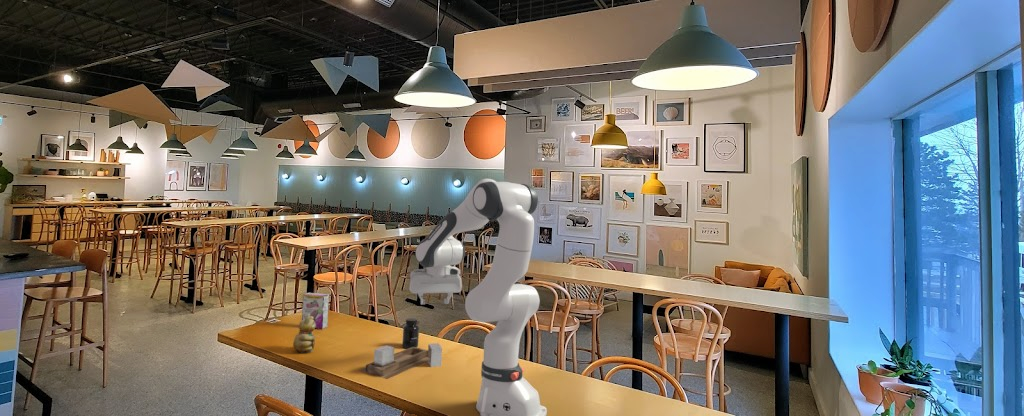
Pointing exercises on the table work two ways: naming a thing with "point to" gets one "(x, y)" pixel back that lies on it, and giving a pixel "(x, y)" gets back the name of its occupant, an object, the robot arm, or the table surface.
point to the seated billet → (383, 356)
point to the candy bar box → (316, 308)
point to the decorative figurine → (305, 335)
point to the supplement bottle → (410, 333)
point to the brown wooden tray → (399, 363)
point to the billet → (434, 354)
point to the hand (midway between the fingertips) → (434, 303)
